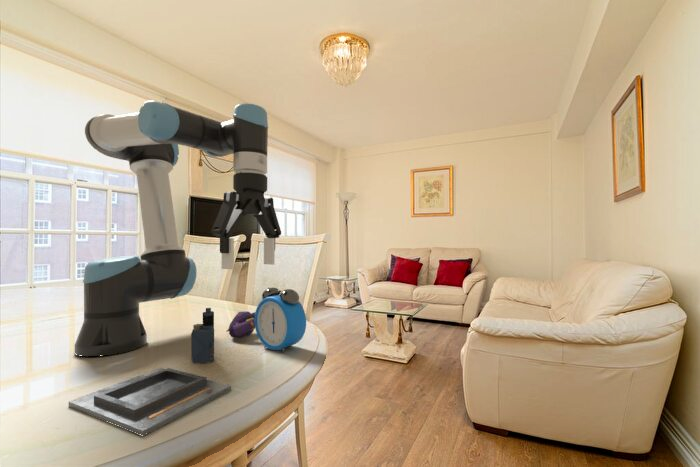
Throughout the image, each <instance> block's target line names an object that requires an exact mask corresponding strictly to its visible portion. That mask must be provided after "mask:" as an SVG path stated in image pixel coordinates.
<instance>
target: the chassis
mask: <svg viewBox="0 0 700 467" xmlns="http://www.w3.org/2000/svg"><path fill="white" fill-rule="evenodd" d="M229 391H232V385H231V384H228V383H223V382H219V381H216V380H212V379H208V377H205V376H202V375H199V374H193V373H189V372H186V371H181V370H177V369H174V368H169V367H167V368H162V367H159V368H157V369H154V370H152V371H151V370H150V371H149V372H145V373H143V374H140V375H138V376H135V377H132V378H129V379H127V380H123V381H120V382H118V383H115V384H113V385H109V386H107V387H104V388H101V389H99V390H97V391H94V392H91V393H89V394H86V395H82V396H79V397H77V398H75V399H71V400H69V401H68V408H69V407H70V408H71V407H72V409H75V410H76V411H79V412H80V413H81V412H82V413H84V414H86V413H87V414H86V415H89V414H90V415H89V416H91V415H92V416H91V417H93V416H94V417H93V418H96V417H97V418H96V419H98V418H100V419H99V420H101V419H103V420H105V421H104V422H106V421H108V422H111V423H113V424H116V425H119V426H121V427H123V428H126V429H128V430H131V431H133V432H136V433H138V434H141V435H145V434H146V433H149V432H151V431H153V430H155V429H156V430H158V429H160V428H162V427H163V425H164V426H165V424H166V425H167V423H168V424H170V423H172V422H173V421H175V420H177V419H179V418H181V417H182V416H185V415H186V414H188V413H190V412H192V411H194V410H196V409H197V408H199V407H202V406H203V405H205V404H207V403H209V402H211V401H212V400H215V399H217V398H219V397H220V396H223V395H225V394H226V393H228V392H229ZM103 420H102V421H103ZM108 422H107V423H108ZM169 422H170V423H169ZM111 423H110V424H111ZM113 424H112V425H113ZM161 426H162V427H161ZM159 427H160V428H159ZM123 428H122V429H123ZM157 428H158V429H157ZM128 430H127V431H128ZM156 430H155V431H156ZM133 432H132V433H133ZM153 432H154V431H153ZM151 433H152V432H151ZM149 434H150V433H149ZM145 436H146V435H145Z"/></svg>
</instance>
